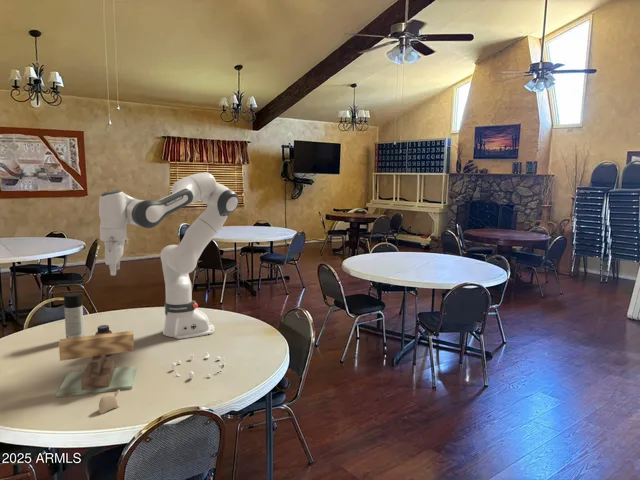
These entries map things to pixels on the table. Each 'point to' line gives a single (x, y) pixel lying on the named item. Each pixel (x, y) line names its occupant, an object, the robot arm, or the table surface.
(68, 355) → the oak slat
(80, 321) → the spray can
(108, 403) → the decorative ornament
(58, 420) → the table surface
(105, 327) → the supplement bottle
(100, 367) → the ridge stand
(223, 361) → the game piece set
